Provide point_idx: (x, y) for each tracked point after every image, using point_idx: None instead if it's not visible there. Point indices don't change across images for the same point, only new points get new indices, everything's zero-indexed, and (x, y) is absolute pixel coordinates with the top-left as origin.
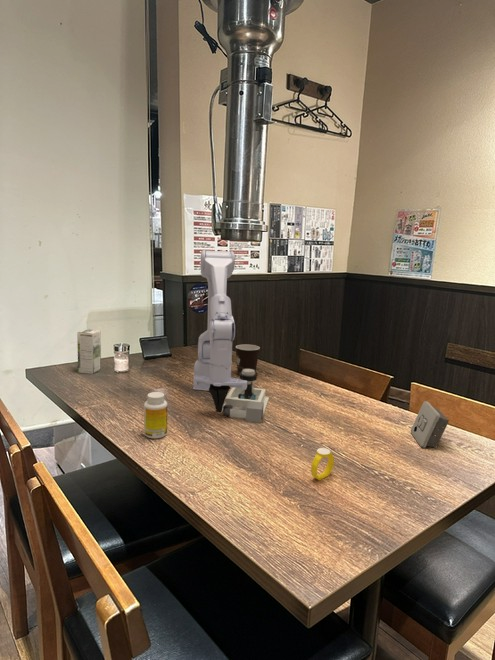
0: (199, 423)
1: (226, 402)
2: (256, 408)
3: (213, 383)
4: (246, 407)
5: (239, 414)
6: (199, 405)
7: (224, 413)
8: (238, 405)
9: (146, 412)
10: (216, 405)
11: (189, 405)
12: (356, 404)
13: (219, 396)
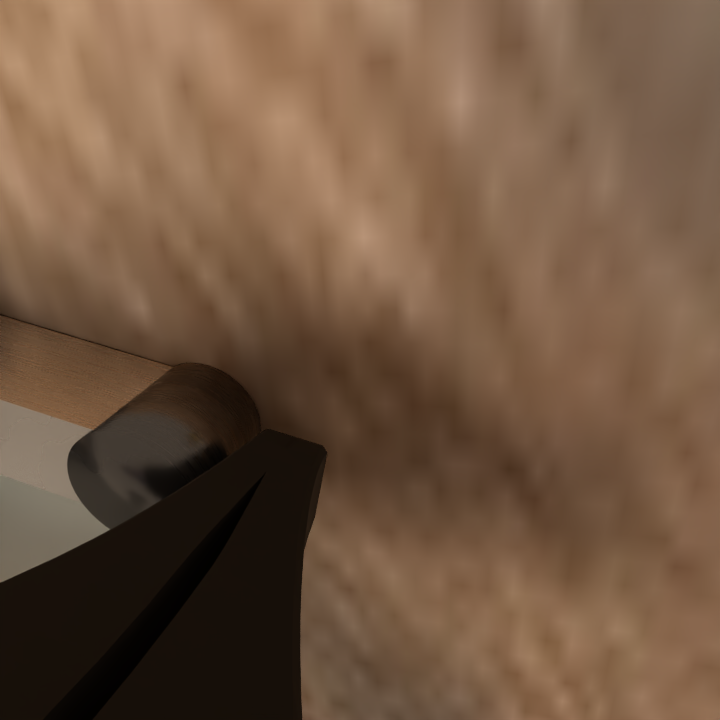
0: (614, 130)
1: None
2: None
3: None
4: (1, 506)
5: (25, 354)
6: (542, 676)
7: (214, 405)
8: (73, 547)
9: None
10: (277, 505)
11: (670, 700)
12: None
13: (73, 658)
